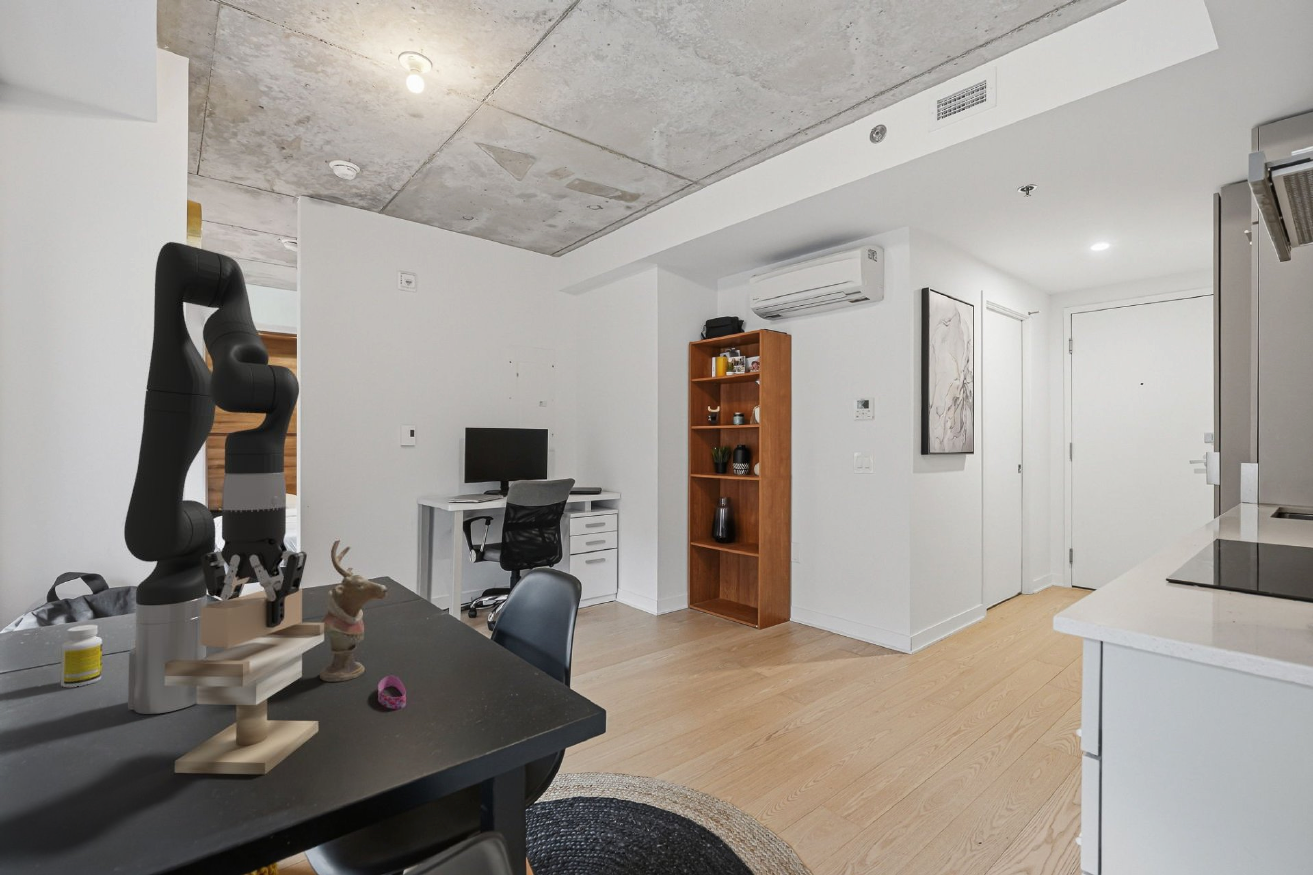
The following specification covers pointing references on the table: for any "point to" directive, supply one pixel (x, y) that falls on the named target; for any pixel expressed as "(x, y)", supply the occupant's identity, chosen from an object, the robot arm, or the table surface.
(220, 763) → the display stand
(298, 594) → the tan block
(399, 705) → the headband
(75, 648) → the supplement bottle
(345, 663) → the decorative bust
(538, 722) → the table surface
